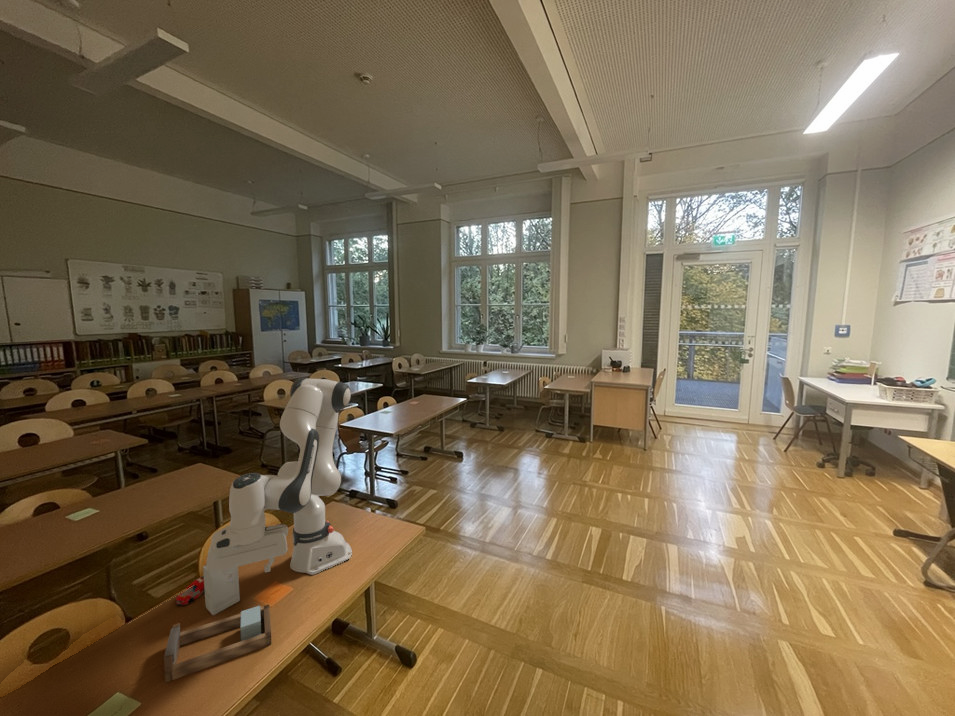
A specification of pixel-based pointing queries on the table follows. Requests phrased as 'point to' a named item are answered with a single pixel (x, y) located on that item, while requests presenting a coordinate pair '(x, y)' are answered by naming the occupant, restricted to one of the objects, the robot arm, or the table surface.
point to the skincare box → (220, 590)
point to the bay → (215, 656)
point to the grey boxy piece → (250, 623)
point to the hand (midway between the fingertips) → (249, 576)
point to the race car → (191, 592)
